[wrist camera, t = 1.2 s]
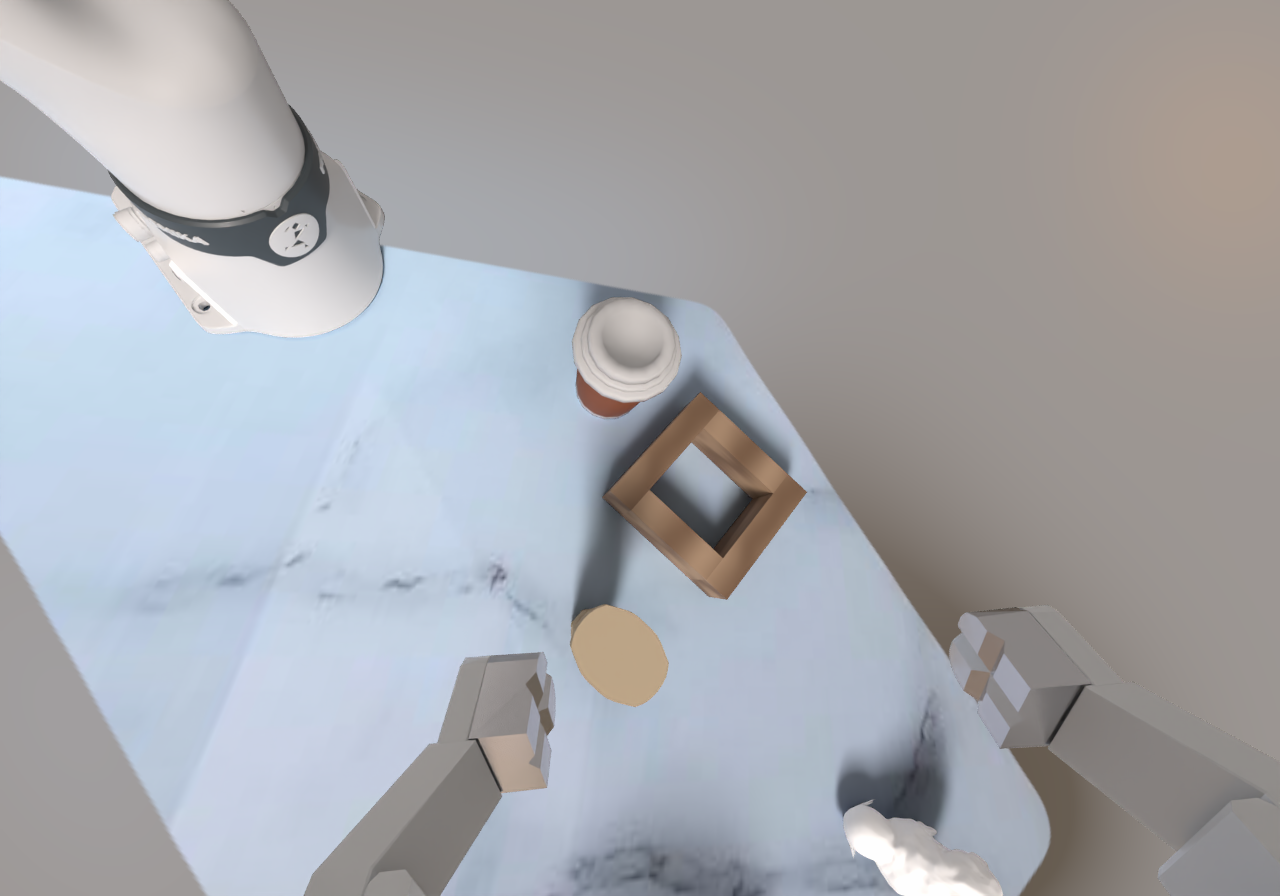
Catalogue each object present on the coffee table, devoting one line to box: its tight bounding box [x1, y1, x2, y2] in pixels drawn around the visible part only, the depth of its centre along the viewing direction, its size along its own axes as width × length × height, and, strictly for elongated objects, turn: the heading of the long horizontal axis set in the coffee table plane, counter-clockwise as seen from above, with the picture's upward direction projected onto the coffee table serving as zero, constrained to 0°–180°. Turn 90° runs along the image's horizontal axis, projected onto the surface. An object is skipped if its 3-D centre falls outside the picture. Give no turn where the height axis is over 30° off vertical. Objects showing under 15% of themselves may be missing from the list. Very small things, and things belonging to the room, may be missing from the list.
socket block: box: [602, 392, 807, 599], centre depth 49 cm, size 14×13×4 cm
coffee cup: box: [572, 297, 682, 419], centre depth 46 cm, size 9×9×12 cm
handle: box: [570, 604, 669, 707], centre depth 39 cm, size 5×6×15 cm
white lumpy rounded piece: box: [843, 799, 1003, 896], centre depth 44 cm, size 6×8×12 cm
